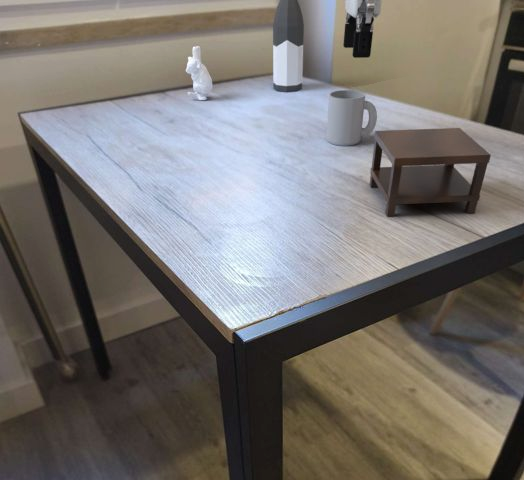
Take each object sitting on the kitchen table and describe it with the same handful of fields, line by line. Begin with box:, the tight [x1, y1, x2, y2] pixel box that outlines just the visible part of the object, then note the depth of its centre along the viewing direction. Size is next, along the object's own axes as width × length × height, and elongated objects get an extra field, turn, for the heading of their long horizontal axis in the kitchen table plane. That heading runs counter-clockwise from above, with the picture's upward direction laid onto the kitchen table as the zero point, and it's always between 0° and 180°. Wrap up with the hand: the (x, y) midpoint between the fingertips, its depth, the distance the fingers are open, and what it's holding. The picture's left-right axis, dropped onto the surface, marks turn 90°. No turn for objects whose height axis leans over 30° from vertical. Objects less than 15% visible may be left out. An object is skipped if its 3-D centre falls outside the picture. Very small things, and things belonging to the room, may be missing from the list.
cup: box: [326, 89, 378, 147], centre depth 104 cm, size 7×10×9 cm
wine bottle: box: [272, 0, 305, 93], centre depth 133 cm, size 8×8×30 cm
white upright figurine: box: [185, 45, 213, 101], centre depth 132 cm, size 8×7×12 cm
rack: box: [369, 127, 492, 217], centre depth 81 cm, size 14×13×9 cm
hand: (356, 52), depth 97 cm, fingers open, 9 cm apart
